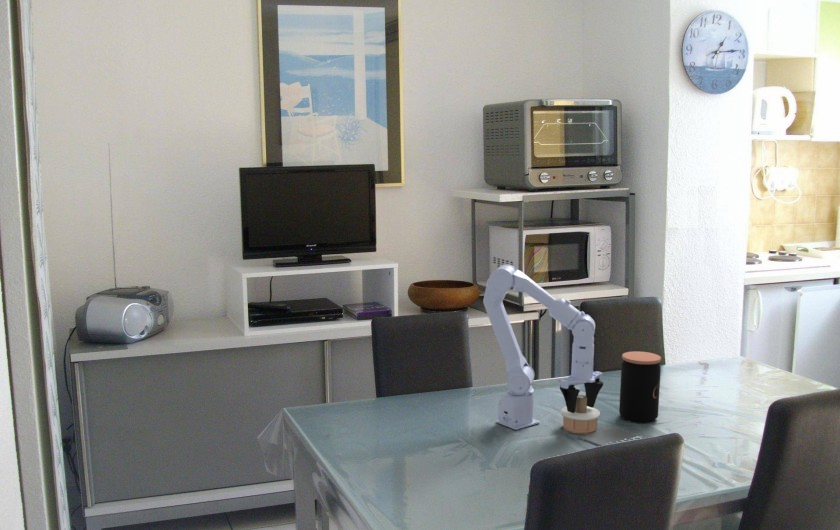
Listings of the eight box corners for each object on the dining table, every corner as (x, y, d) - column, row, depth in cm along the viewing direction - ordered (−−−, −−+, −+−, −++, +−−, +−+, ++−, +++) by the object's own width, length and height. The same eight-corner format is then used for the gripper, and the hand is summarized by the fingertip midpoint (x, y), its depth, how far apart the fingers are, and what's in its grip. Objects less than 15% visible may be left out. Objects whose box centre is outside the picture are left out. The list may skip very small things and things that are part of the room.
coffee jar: (659, 425, 234) (662, 362, 232) (619, 422, 236) (622, 359, 234) (656, 413, 245) (659, 352, 242) (618, 410, 247) (621, 350, 244)
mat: (611, 450, 215) (611, 449, 215) (578, 438, 224) (578, 436, 224) (646, 439, 224) (646, 437, 224) (613, 427, 232) (613, 426, 232)
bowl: (581, 436, 225) (581, 422, 225) (556, 427, 232) (556, 413, 232) (603, 429, 231) (604, 415, 230) (578, 420, 238) (579, 406, 237)
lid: (582, 423, 224) (582, 405, 223) (553, 412, 232) (553, 395, 231) (608, 415, 230) (608, 398, 229) (578, 405, 238) (579, 389, 237)
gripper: (575, 368, 221) (573, 418, 223) (611, 359, 230) (609, 407, 232) (555, 362, 227) (553, 411, 229) (591, 354, 235) (589, 401, 237)
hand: (580, 409), depth 231 cm, fingers open, 7 cm apart
